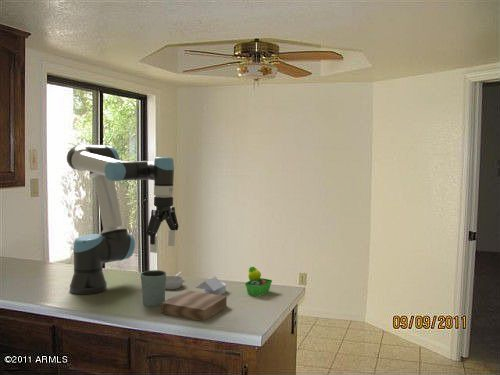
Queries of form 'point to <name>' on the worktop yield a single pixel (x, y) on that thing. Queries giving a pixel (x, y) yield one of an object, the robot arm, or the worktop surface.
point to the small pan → (174, 281)
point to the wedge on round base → (213, 286)
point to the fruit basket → (257, 283)
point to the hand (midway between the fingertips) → (162, 249)
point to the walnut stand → (194, 305)
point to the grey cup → (153, 287)
